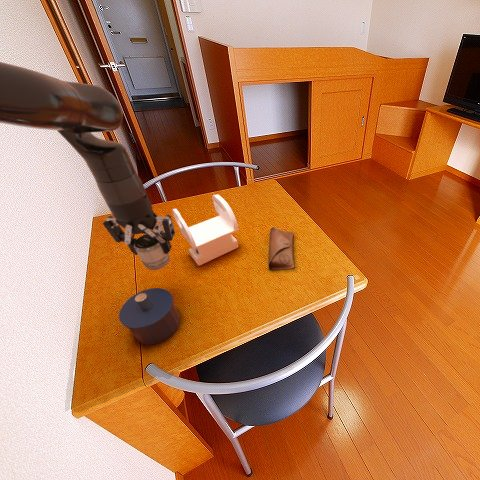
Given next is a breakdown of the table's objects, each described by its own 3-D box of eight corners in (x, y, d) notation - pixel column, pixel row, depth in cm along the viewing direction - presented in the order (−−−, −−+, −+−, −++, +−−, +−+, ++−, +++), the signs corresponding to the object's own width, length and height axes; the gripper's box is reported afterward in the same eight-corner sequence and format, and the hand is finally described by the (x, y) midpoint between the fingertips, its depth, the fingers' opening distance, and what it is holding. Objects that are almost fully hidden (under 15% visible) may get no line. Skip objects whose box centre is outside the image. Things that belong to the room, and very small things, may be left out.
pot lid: (151, 336, 60) (143, 324, 57) (109, 323, 62) (99, 311, 59) (183, 296, 68) (178, 284, 65) (145, 286, 70) (138, 274, 67)
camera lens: (158, 274, 68) (146, 250, 63) (138, 266, 69) (125, 243, 64) (176, 257, 72) (167, 234, 67) (158, 251, 74) (147, 228, 69)
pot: (161, 349, 65) (150, 332, 60) (125, 338, 67) (111, 320, 62) (188, 314, 72) (180, 296, 68) (155, 304, 74) (145, 286, 69)
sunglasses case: (296, 267, 86) (284, 254, 82) (277, 276, 88) (265, 264, 83) (293, 231, 99) (283, 219, 95) (277, 240, 101) (267, 228, 97)
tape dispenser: (201, 271, 84) (185, 224, 72) (185, 249, 91) (167, 203, 80) (243, 251, 92) (234, 205, 80) (224, 232, 99) (214, 188, 87)
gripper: (77, 204, 54) (115, 264, 65) (154, 202, 56) (179, 261, 66) (97, 185, 60) (129, 243, 71) (166, 184, 61) (187, 241, 72)
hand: (153, 251), depth 68 cm, fingers closed on camera lens, 6 cm apart
